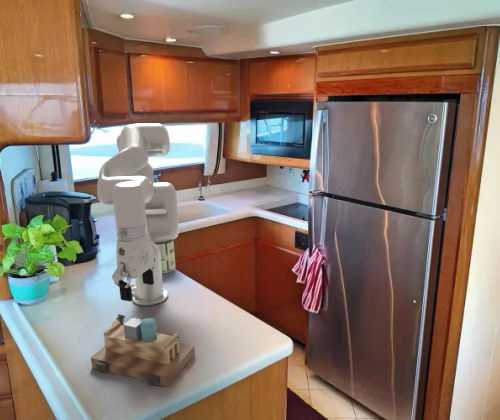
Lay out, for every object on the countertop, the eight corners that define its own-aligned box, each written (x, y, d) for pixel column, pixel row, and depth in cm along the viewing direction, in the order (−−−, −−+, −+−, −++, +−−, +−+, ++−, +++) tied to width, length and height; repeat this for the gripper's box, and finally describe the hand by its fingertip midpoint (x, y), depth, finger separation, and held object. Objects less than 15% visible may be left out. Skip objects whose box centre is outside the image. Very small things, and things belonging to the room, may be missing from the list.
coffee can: (153, 264, 181) (151, 234, 177) (177, 263, 181) (175, 233, 177) (149, 273, 171) (146, 242, 167) (173, 273, 171) (171, 241, 168)
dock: (89, 369, 110) (88, 359, 109) (124, 339, 124) (123, 330, 123) (166, 389, 102) (165, 379, 101) (194, 355, 116) (194, 345, 115)
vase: (119, 326, 131) (119, 310, 130) (131, 332, 128) (130, 315, 127) (105, 334, 127) (105, 317, 125) (117, 340, 124) (116, 323, 122)
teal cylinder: (138, 340, 110) (137, 324, 109) (147, 332, 113) (146, 316, 112) (151, 343, 108) (149, 326, 107) (159, 335, 112) (158, 319, 111)
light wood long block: (105, 350, 114) (103, 332, 112) (119, 338, 119) (117, 321, 118) (168, 364, 107) (166, 346, 105) (179, 351, 112) (178, 334, 111)
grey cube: (124, 337, 111) (123, 324, 110) (133, 330, 115) (132, 317, 114) (137, 340, 110) (135, 327, 109) (145, 332, 113) (144, 320, 112)
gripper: (123, 243, 95) (129, 309, 99) (163, 222, 110) (167, 280, 115) (96, 240, 97) (104, 304, 102) (139, 219, 113) (144, 276, 117)
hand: (138, 291), depth 108 cm, fingers open, 9 cm apart
